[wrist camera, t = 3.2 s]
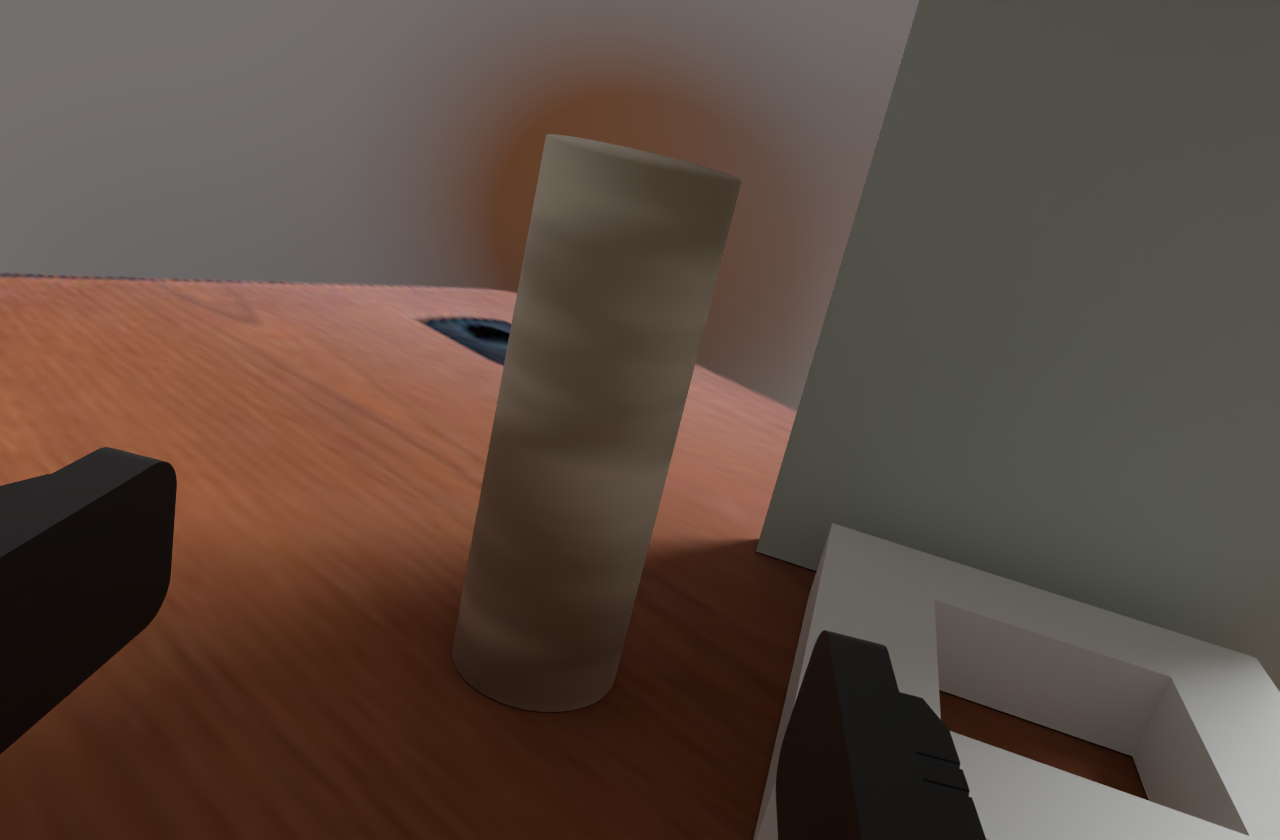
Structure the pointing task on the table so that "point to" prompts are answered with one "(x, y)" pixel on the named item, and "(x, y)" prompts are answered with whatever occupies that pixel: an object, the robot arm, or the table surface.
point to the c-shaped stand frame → (1064, 315)
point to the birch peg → (587, 417)
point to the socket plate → (1057, 698)
